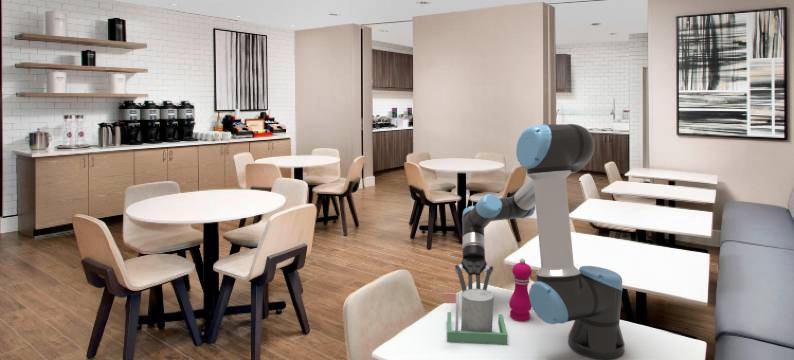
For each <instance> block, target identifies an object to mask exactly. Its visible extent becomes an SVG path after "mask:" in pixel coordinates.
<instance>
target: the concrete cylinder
mask: <svg viewBox="0 0 794 360" xmlns="http://www.w3.org/2000/svg"><path fill="white" fill-rule="evenodd" d="M494 297H495V296H494V294H493V293H492V292H491V291H490V290H488V289H487V290H483V288H480V289H476V288H472V289H468V288H467V290H465V291H463V292H462V291H461V323H460V324H461V326H460V327H461V329H460V331H474V332H493V321H494V320H493V319H494V315H493V314H494Z"/></svg>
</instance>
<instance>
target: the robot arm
mask: <svg viewBox="0 0 794 360" xmlns="http://www.w3.org/2000/svg"><path fill="white" fill-rule="evenodd" d="M594 152H595V141H594V137H593V135H592V134H591V132H590V131H589V130H588V129H587V128H585V127H584V126H582V125H579V124H575V123H567V124H566V123H565V124H561V123H559V124H556V123H554V124H549V123H548V124H544V123H543V124H538V125H531V126H528V127H527V128H525V129H524V130H523V131H522V132H521V134H520V136H519V137H518V140H517V142H516V154H515V155H516V158H517V161H518V162H519V165H520V166H521V167H523V168H525V169H526V173H527V176H528V177H529V179H528V180H527V181H526V182H525V183H524V184H523V185H522V186H521V187H520V188H519V189H518V190H517V191H516V192H515V193H514V194H513V195H512V196H510V197H501V198H500V197H498V196H497V195H496V194H495V195H494V194H492V193H487V194H485V195H483V196H482V197H481V198H480V199H479V200H478V201H477V202H476V203H475V205H471V206H468V207H465V208H464V209H463V211H462V217H461V222H462V260H461V263H459V264H456V265H455V266H454V272H456V274H457V276H458V279H459V283H460V287H461V288H460V289H461V293H462V292H463V291H465V290H468V289H473V275H475V286H476V287H475V289H481V274H482V273H483V272H484V270H485V272H486V273H485V278H484V283H483V286H482V289H483V290H487V291H488V285H489V282H490V276H492V273H493V272H494V266H492V265H491V266H490V265H488V263H487V261H486V250H485V247H486V246H485V228H486V227H487V226H488V225H489V224H490V223H491V222H495V221H496V222H497V221H504V220H513V219H514V220H516V219H525V218H529V217H531V216H533V215H534V213H535V211H536V223H537V234H538V235H537V236H538V243H539V244H538V245H539V254H540V255H539V256H540V268H539V269H538V270H537V271H536V274H535V275H536V276H535V277H536V281H535V282H533V283H532V284H531V285H530V287H529V290H528V294H529V299H530V303H531V306H532V308H531V309H533V312H534V313H535V314H536V316H537V317H538V318H539V319H540V320H541V321H542V322H544V323H546V324H549V325H555V324H556V325H557V324H560V325H561V324H566V323H568V322H572V321H574V322H573V323H572V325H571V328H570V330H569V333H568V336H567V343H568V346H569V348H570V349H571V350H573V351H574V352H576V353H578V354H580V355H582V356H584V357H588V358H591V359H598V360H614V359H618V358H620V357H621V356H623V355H624V353H625V341H624V337H623V334H622V330H621V326H620V320H621V319H620V318H621V307H622V299H623V298H622V295H623V278H622V276H621V275H620V274H619V273H617V272H616V271H613V270H611V269H609V268H608V269H607V268H604V267H600V266H594V265H582V266H580V267H579V269H578V268H577V267H576V266H575V264H574V253H573V244H572V243H573V241H572V232H571V223H570V221H571V220H570V211H569V209H570V208H569V198H568V187H567V186H568V185H567V178H568V177H569V176H570V175H571V174H572V173H573V174H574V173H575V174H576V173H577V172H579V171H581V170H582V169H583V168H584V167H586V165H587V164H588V163H589V162H590V161H591V159H592V157H593V155H594ZM463 270H464V271H465V273H467V278H468V279H467V280H468V281H467V285H468V287H467V286H466V281H465V277H464V274H463Z"/></svg>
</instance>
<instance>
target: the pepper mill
mask: <svg viewBox="0 0 794 360" xmlns="http://www.w3.org/2000/svg"><path fill="white" fill-rule="evenodd" d="M511 270H512V274H513V276H514V277H513V282H514V290H513V293H512V295H511V296H510V299H509V301H508V302H509V303H508V305H509V308H510V309H511V310H510V311H509V312H510V313H509V314H510V315H509V316H510V319H512V320H514V321H517V322H527V321H529V320H530V317H531V312H530V311H531V310H532V309H533V308H532V306H531V303H530V299H529V290H528V286H529V284H530V277H531V276H532V268H531V266H530V265H529V264H528V263H526V259H525V258H520V259H519V262H517V263H515V264H514V265H513V267H512V269H511Z"/></svg>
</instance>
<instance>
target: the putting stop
mask: <svg viewBox="0 0 794 360" xmlns="http://www.w3.org/2000/svg"><path fill="white" fill-rule="evenodd" d="M459 296H460V292H456V293H455V292H454V293H453V292H443V293H442V304H454V305H455V329H454V330H452V312H451V311H448V312H447V315H446V316H447V319H446V322H447V323H446V325H447V326H446V327H447V329H446V330H447V331H446V334H447V335H446V337H447V339H446V340H447V341H446V342H448V343H468V344H486V345H487V344H489V345H491V344H492V345H508V337H509V336H508V331H507V327H506V323H505V320H504V316H503V314H501V313H498V320H497V321H498V322H497V325H498V329H499V332H498V331H497V332H496V331H495V332H494V331H492V332H474V331H461V330H459V310H460V308H459V305H460V304H459V303H460V299H459V298H460V297H459Z"/></svg>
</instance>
